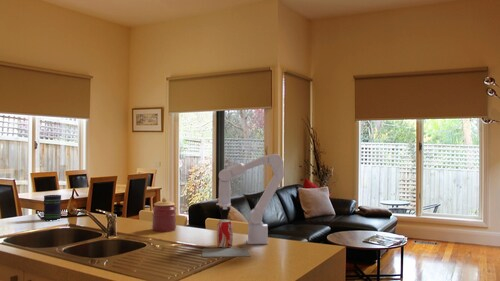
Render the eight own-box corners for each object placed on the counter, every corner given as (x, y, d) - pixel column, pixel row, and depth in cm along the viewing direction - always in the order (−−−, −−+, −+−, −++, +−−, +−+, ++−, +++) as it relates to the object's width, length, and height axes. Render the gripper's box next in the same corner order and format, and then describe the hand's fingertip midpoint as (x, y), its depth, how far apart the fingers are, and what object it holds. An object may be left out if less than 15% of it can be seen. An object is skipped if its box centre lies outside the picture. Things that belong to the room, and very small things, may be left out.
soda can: (226, 249, 188) (226, 222, 188) (213, 247, 191) (214, 220, 192) (235, 246, 194) (235, 220, 194) (223, 244, 197) (223, 218, 198)
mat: (247, 248, 189) (247, 248, 189) (250, 256, 175) (250, 255, 175) (202, 249, 187) (202, 248, 187) (202, 257, 173) (202, 256, 173)
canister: (179, 230, 230) (180, 198, 230) (157, 233, 222) (157, 199, 223) (170, 226, 240) (170, 195, 241) (148, 229, 233) (148, 197, 234)
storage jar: (39, 220, 256) (40, 196, 256) (49, 218, 265) (50, 194, 266) (54, 221, 254) (55, 196, 254) (64, 218, 264) (64, 195, 264)
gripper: (216, 192, 209) (215, 219, 209) (216, 195, 195) (216, 225, 195) (230, 192, 210) (230, 219, 210) (231, 195, 196) (231, 225, 195)
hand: (224, 222), depth 202 cm, fingers closed
